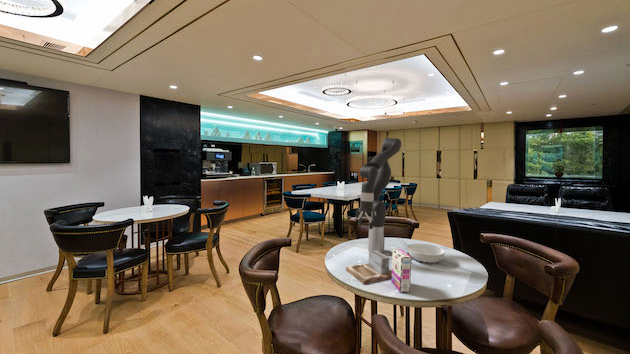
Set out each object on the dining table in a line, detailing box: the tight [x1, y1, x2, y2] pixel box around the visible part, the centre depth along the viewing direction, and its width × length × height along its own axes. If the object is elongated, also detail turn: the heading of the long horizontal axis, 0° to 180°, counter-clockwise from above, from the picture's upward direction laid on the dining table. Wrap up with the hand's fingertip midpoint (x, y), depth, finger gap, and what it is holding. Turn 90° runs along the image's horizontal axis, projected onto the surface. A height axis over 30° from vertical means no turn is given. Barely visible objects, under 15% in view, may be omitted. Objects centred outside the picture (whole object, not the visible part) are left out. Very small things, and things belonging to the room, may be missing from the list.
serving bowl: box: [406, 243, 446, 264], centre depth 157 cm, size 21×21×7 cm
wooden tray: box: [345, 251, 392, 285], centre depth 137 cm, size 20×17×10 cm
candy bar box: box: [391, 248, 413, 293], centre depth 123 cm, size 11×5×16 cm, turn 5°
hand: (365, 227), depth 155 cm, fingers open, 8 cm apart
